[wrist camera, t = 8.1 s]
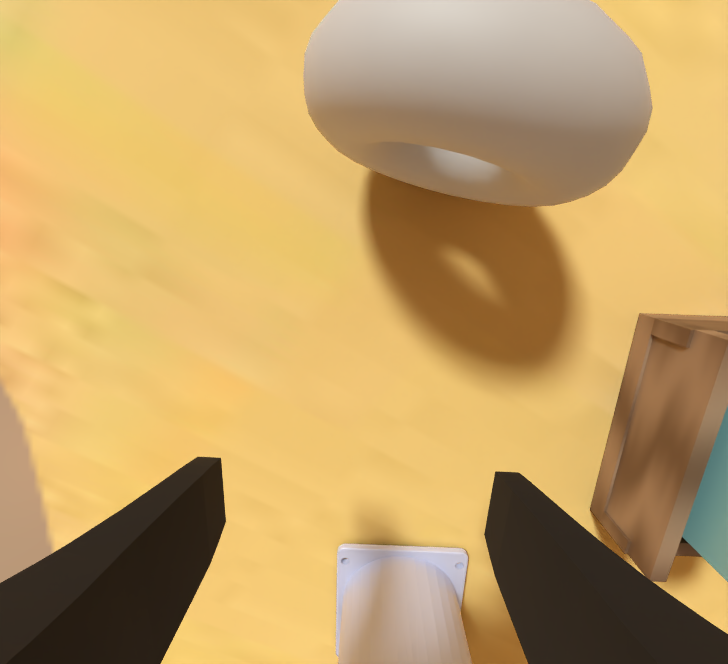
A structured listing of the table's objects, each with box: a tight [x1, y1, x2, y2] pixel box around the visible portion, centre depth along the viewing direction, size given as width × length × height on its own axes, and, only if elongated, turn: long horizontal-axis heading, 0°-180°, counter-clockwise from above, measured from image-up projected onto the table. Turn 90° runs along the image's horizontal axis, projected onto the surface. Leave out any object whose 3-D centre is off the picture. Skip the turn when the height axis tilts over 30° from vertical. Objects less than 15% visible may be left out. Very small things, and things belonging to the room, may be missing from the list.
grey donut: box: [304, 0, 652, 207], centre depth 11 cm, size 10×3×10 cm, turn 75°
